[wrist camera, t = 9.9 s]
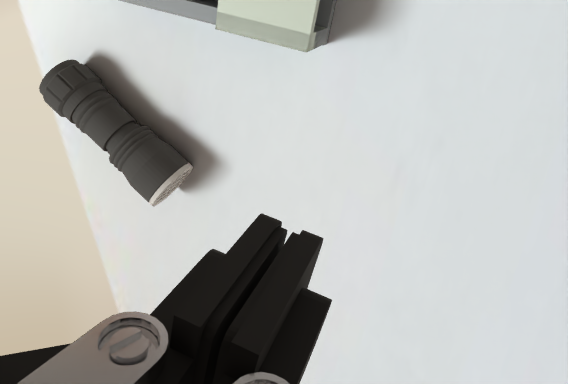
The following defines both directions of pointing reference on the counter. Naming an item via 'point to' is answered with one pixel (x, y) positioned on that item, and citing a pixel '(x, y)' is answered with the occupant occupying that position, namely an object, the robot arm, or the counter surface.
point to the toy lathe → (259, 18)
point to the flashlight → (115, 131)
